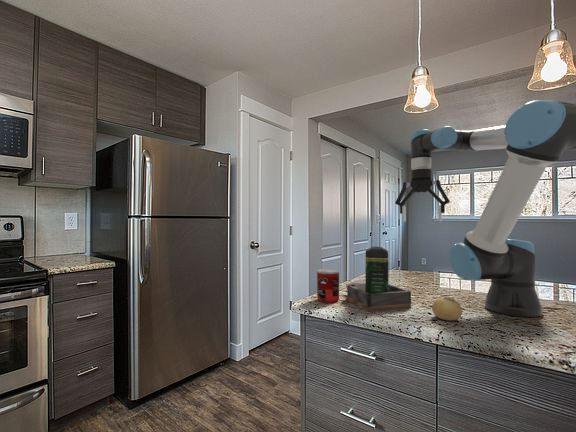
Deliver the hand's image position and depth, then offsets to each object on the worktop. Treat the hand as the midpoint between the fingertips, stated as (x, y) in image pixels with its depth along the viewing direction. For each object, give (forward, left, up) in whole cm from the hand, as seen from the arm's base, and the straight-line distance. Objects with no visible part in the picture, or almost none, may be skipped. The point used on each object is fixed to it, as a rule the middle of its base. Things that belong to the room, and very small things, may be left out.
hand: (421, 221), depth 124 cm
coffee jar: (-8, +26, -27) cm, 39 cm away
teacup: (+5, +26, -29) cm, 39 cm away
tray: (-8, +26, -29) cm, 40 cm away
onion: (-29, +15, -29) cm, 44 cm away
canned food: (0, +41, -29) cm, 50 cm away
